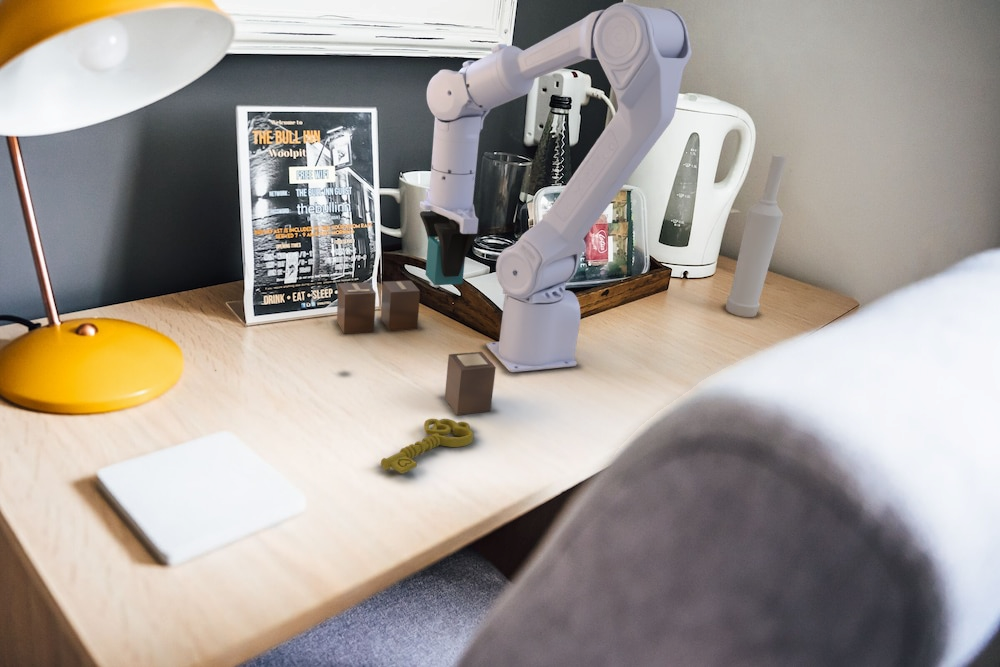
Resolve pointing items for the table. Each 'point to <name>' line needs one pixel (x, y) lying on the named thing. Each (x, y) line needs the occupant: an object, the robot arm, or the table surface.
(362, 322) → the tile
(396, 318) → the tile
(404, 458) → the key
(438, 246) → the teal rectangular block
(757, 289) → the bottle
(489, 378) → the brown tall block
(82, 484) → the table surface
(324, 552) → the table surface
